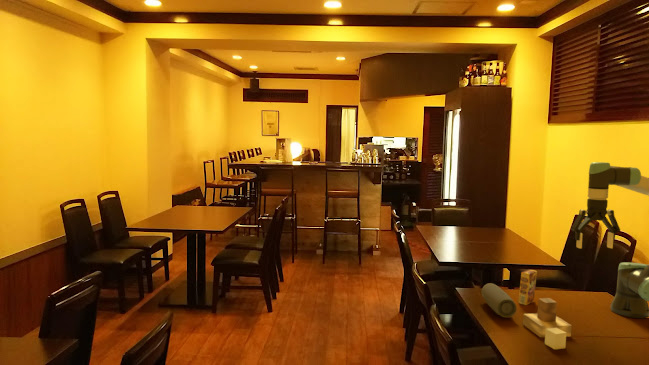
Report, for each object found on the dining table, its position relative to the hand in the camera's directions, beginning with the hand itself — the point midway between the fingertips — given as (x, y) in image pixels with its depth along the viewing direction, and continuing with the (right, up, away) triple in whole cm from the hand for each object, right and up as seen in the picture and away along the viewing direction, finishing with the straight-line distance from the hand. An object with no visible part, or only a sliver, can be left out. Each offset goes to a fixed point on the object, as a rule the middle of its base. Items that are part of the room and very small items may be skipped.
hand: (594, 247), depth 206 cm
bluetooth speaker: (-37, -30, +11) cm, 50 cm away
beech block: (-25, -33, -9) cm, 42 cm away
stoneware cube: (-28, -34, -24) cm, 50 cm away
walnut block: (-25, -28, -10) cm, 39 cm away
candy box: (-19, -30, +24) cm, 43 cm away
